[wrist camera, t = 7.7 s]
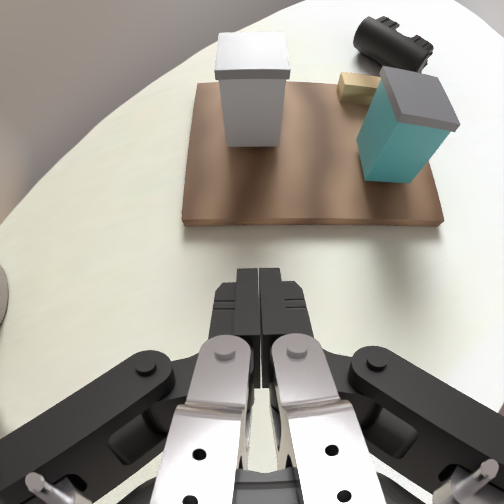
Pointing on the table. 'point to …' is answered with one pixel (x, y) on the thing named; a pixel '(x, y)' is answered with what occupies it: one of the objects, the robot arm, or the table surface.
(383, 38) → the end cap
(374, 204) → the key base
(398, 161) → the teal key
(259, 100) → the grey key
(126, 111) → the table surface
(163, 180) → the table surface
